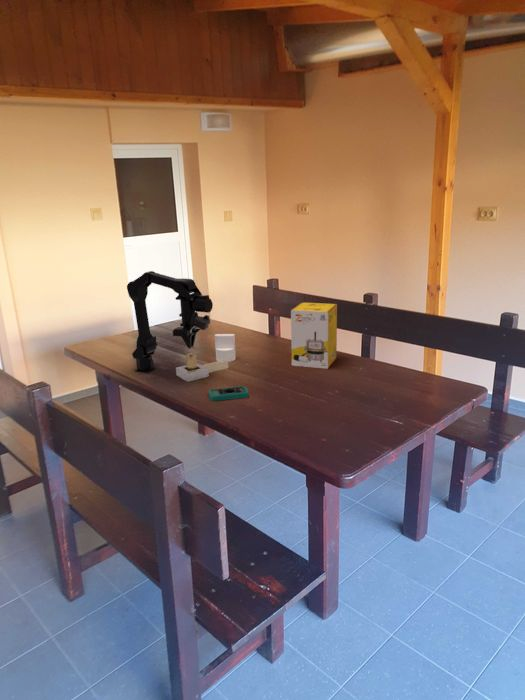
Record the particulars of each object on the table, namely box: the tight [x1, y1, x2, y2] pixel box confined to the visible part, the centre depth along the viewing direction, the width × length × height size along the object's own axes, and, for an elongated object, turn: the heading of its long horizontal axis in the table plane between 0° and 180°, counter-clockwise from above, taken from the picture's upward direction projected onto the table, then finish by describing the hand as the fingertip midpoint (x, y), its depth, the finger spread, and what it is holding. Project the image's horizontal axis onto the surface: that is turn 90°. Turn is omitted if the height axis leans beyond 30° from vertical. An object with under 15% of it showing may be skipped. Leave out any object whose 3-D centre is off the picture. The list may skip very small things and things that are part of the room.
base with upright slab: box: [214, 333, 237, 363], centre depth 246 cm, size 9×9×12 cm
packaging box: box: [290, 302, 338, 370], centre depth 238 cm, size 16×16×25 cm
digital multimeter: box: [208, 385, 249, 402], centre depth 205 cm, size 7×15×3 cm, turn 104°
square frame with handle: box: [175, 360, 229, 382], centre depth 229 cm, size 10×22×4 cm, turn 125°
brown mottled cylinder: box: [185, 352, 198, 371], centre depth 225 cm, size 4×4×10 cm
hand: (190, 347), depth 223 cm, fingers open, 2 cm apart
